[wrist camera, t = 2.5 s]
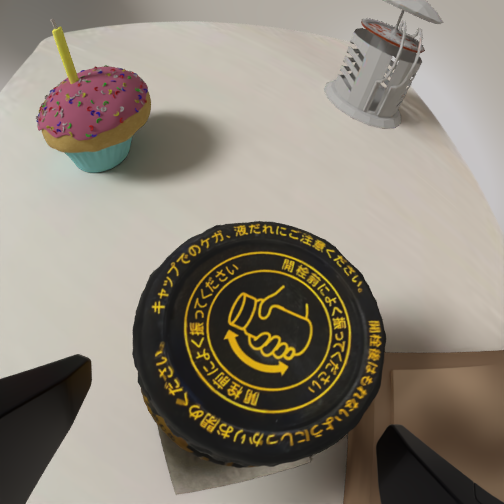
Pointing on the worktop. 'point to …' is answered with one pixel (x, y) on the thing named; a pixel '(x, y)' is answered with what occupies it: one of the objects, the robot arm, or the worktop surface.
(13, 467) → the robot arm
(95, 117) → the cupcake
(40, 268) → the worktop surface
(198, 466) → the condiment
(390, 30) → the french press
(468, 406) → the walnut base
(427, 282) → the worktop surface
